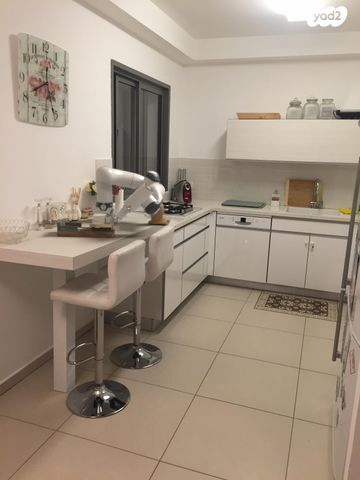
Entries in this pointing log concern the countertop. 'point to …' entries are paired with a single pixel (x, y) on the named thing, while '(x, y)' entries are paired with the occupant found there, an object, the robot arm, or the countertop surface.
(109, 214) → the food container
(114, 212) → the robot arm
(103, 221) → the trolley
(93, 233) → the loading dock
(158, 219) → the stone cup
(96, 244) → the countertop surface
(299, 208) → the countertop surface
